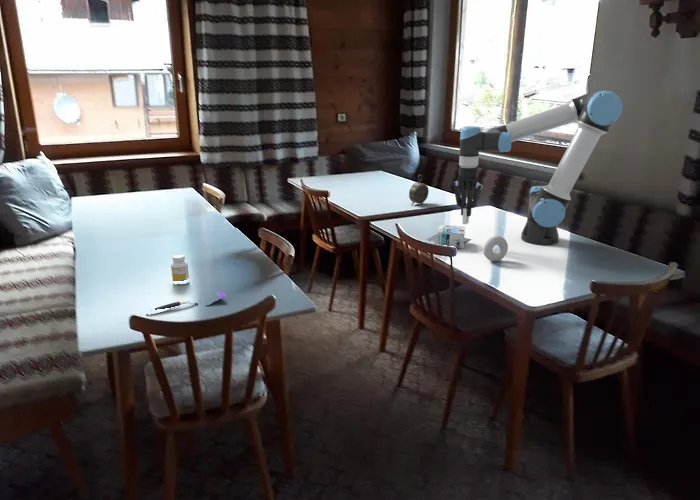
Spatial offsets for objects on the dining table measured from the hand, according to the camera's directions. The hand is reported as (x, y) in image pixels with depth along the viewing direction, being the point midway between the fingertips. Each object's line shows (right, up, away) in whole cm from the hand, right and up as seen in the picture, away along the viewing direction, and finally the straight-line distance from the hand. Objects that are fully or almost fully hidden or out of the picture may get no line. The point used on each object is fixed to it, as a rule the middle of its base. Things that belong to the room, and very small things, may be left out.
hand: (465, 223), depth 229 cm
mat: (-7, -7, +7) cm, 12 cm away
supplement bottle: (-106, -22, -37) cm, 114 cm away
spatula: (-98, -29, -56) cm, 117 cm away
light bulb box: (0, -6, 0) cm, 6 cm away
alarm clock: (-11, +13, +68) cm, 70 cm away
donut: (+8, -15, -17) cm, 24 cm away
